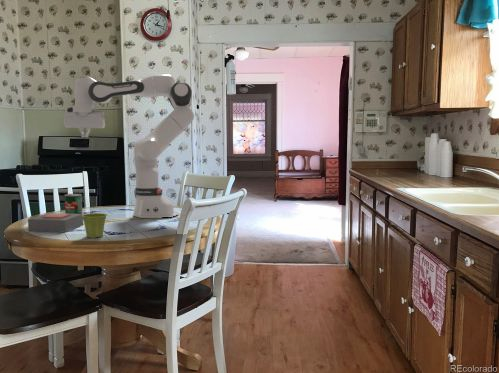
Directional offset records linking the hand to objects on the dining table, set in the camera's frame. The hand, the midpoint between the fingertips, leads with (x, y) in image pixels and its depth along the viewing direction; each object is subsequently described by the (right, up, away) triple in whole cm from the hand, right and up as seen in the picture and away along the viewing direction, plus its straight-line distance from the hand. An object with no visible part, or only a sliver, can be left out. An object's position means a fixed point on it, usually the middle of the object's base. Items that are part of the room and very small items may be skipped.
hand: (84, 137), depth 226 cm
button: (0, -42, -34) cm, 54 cm away
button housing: (0, -43, -34) cm, 55 cm away
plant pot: (+22, -45, -50) cm, 71 cm away
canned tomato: (-3, -40, -6) cm, 41 cm away
